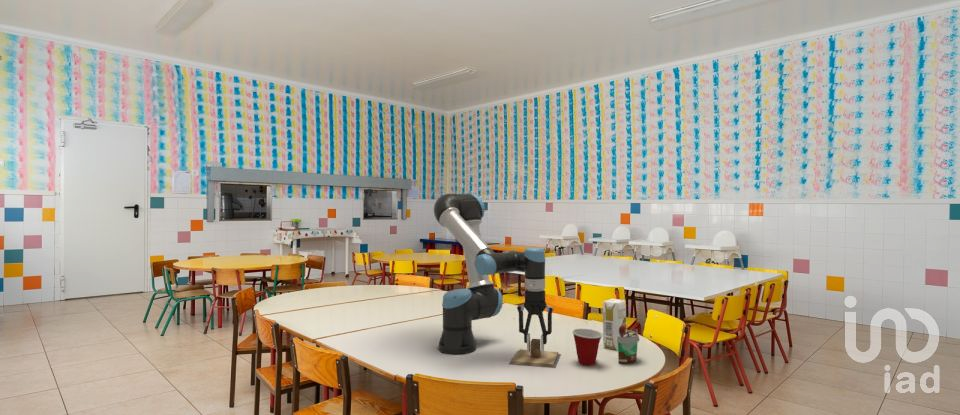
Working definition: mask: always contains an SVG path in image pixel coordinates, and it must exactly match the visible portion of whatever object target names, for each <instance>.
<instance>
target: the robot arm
mask: <svg viewBox="0 0 960 415" xmlns="http://www.w3.org/2000/svg"><path fill="white" fill-rule="evenodd" d="M485 209H486V208H485V204H484V201H483V199H482V198H481V197H480V196H479V195H478V194H475V193H469V192H467V193H446V194H442V195H441V196H439V198H437V199H436V200H435V203H434V207H433V214H434V217H435V219H436V221H437V222H438V223H439V225H440V226H441V227H443V228H446V229H447V230H448V231H449V233H450V234H452V236H453V237H454V238H455V240H457V241H458V242H459V244H460V245H461V246H462V249H463V255H464V261H465V266H466V267H465V268H466V270H467V271H466V272H467V277H468V281H469V282H468V283H469V284H468V286H467V287H466V288H459V289H458V288H457V289H451V290H449V291H447V292H445V293H444V294H443V295H442V303H441V307H442V332H441V335H440V339H439V341H438V351H440V352H441V353H444V354H447V355H449V354H450V355H462V354H464V355H465V354H469V353H473V352H475V351H476V349H477V342H476V338H475V335H474V332H473V329H472V328H473V327H472V326H473V324H472V323H473V322H472V321H477V320H482V319H489V318H492V317H495V316H497V315H499V314H500V312H501V310H502V307H503V304H504V303H503V296H502V295H503V294H502V293H501V292H500V290H499V289H498V288H496V287H495V283H494V282H492V281H491V279H490V276H491V275H497V274H504V273H506V274H507V273H512V272H521V273H524V289H525V290H524V303H523V304H521V305H520V304H519V305H518V306H517V307H516V309H517V312H518V332H519V333H521V334H523V341H524V342H523V343H524V344H526V350H527V353H529V352H530V350H531V333H530V332H529V330H530V326H531V321H532V317H533V316H534V315H536V316H537V318H538V320H539V324H540V328H541V332H542V334H541V335H540V351H541V354H543V353H544V351H545V345H547V343H548V336H549V335H551V334H552V332H553V331H552V329H553V325H552V324H553V311H554V306H550V305H547V302H546V290H545V289H546V254H545V252H546V251H545V249H544V248H542V247H527V248H525V249H524V252H523V251H515V250H508V251H505V252H498V253H497V252H495V251H494V250H493V249H492V248H491V247H490V245H488V244H487V243H486V241H485V240H483V238H482V234H481V230H480V225H481V224H482V219H483V217H484V215H485V212H486V210H485ZM525 309H526V311H527V318H526V321H525V326H524V310H525ZM545 309H546V312H547V327H546V324H545V319H544V311H545Z"/></svg>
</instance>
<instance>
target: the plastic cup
mask: <svg viewBox="0 0 960 415" xmlns="http://www.w3.org/2000/svg"><path fill="white" fill-rule="evenodd" d="M572 334H573V338H574V339H573V340H574V344H575V349H576V350H575V352H576V356H577V360H578V361H577V362H578V364H579V365H582V366H587V367H589V366H594V365H596V361H597V357H598V351H599V347H600V345H599V344H600V342H601V339H602V337H603V332H600V331H598V330H595V329H592V328H591V329H590V328H575V329H572Z"/></svg>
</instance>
